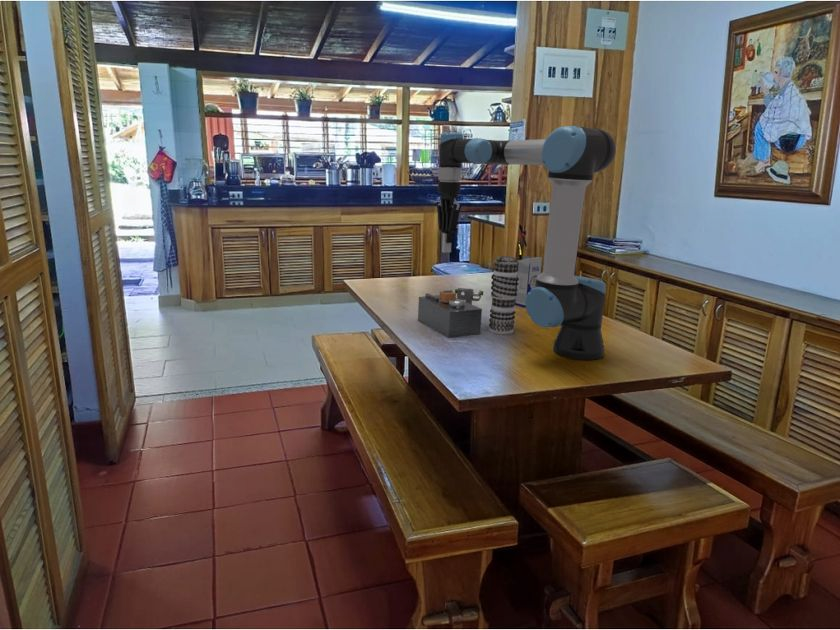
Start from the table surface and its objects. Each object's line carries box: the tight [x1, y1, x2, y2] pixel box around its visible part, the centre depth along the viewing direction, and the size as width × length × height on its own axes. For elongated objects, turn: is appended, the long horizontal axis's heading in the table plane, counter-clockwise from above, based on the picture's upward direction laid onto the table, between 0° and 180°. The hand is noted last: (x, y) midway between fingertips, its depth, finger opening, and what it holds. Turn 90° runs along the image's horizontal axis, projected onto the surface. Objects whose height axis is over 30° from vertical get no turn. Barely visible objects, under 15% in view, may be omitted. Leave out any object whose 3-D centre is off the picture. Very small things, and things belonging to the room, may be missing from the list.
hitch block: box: [417, 293, 483, 339], centre depth 198 cm, size 22×12×10 cm, turn 27°
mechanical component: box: [454, 287, 484, 305], centre depth 213 cm, size 3×10×10 cm, turn 78°
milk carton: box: [514, 255, 543, 309], centre depth 231 cm, size 7×7×20 cm
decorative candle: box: [488, 255, 519, 335], centre depth 194 cm, size 9×9×25 cm
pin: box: [449, 299, 465, 308], centre depth 194 cm, size 5×5×10 cm
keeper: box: [439, 289, 457, 303], centre depth 198 cm, size 4×4×4 cm
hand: (446, 252), depth 199 cm, fingers closed
